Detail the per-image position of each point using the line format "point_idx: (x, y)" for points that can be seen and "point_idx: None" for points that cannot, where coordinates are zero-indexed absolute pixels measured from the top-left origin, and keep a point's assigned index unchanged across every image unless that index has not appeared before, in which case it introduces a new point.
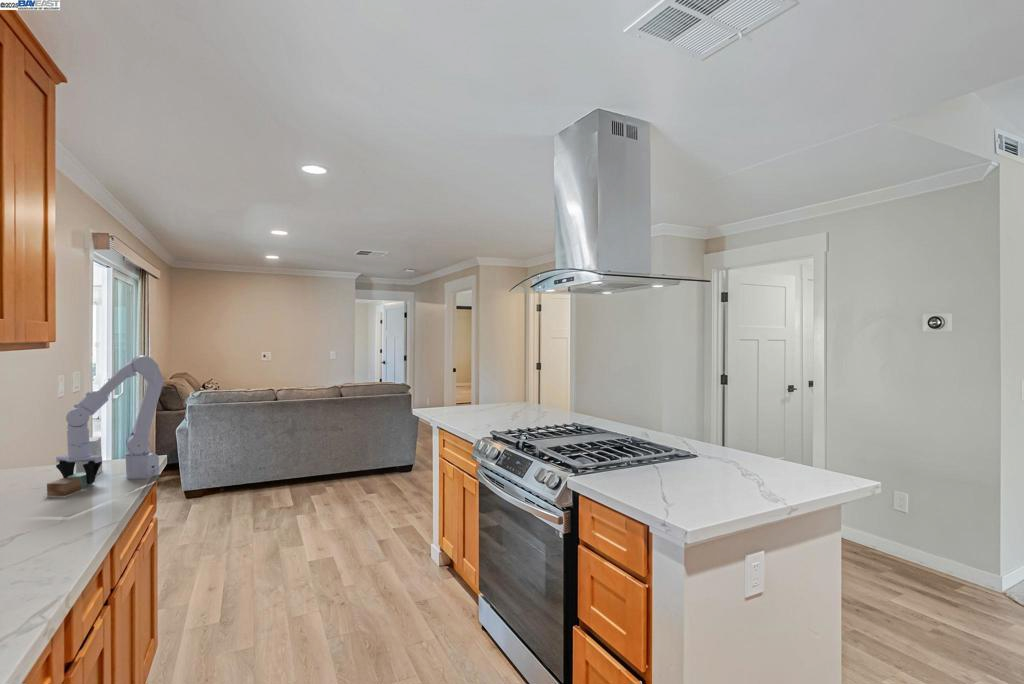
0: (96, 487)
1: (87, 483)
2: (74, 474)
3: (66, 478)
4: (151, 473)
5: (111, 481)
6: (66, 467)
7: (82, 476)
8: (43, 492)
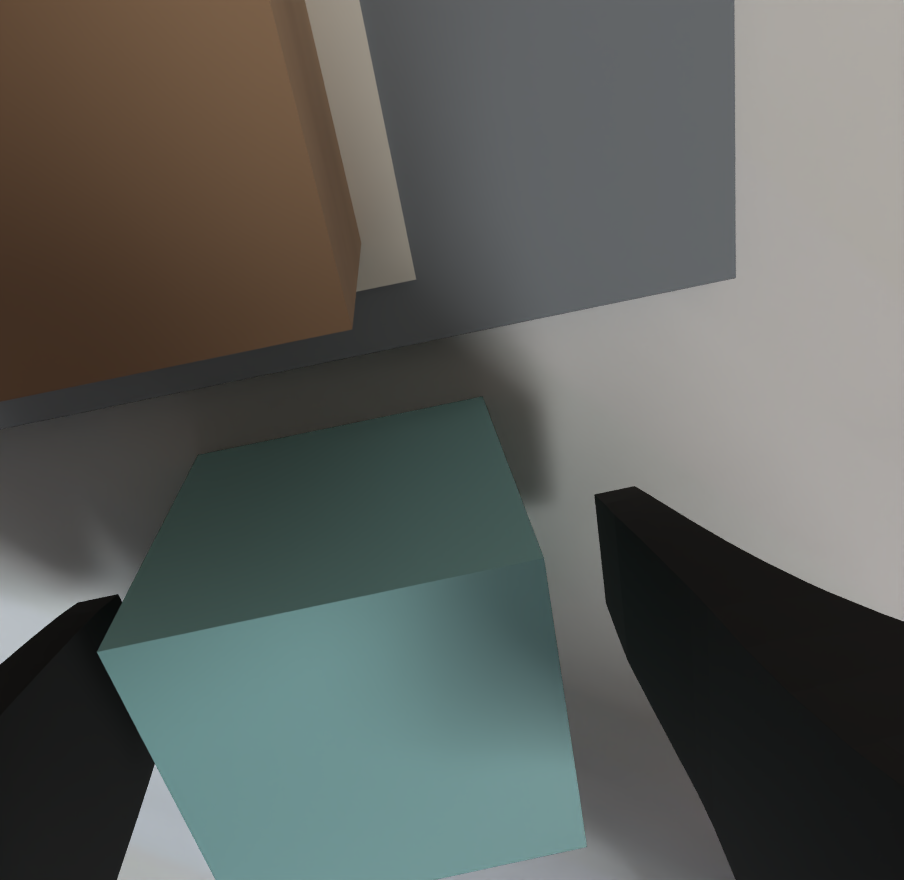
0: (33, 610)
1: (104, 598)
2: (533, 725)
3: (128, 290)
4: None
5: (186, 857)
6: (834, 868)
7: (133, 692)
8: (833, 97)
